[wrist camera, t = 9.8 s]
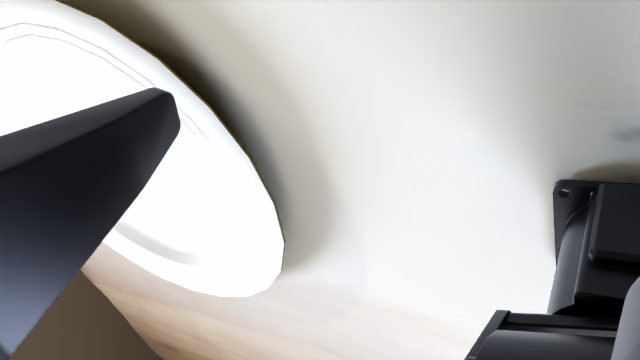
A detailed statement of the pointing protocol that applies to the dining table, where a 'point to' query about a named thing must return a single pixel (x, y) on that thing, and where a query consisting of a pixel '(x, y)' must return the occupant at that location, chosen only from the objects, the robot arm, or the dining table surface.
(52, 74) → the plate
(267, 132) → the dining table surface
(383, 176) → the dining table surface
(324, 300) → the dining table surface
